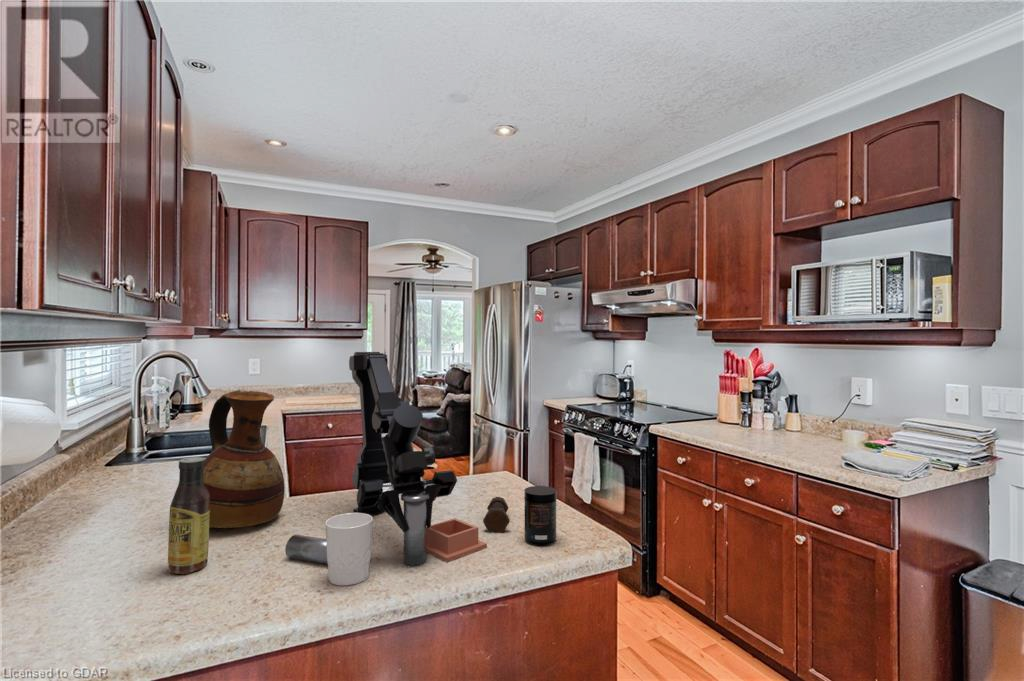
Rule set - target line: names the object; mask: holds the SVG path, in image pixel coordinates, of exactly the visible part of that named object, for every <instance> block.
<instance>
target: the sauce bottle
mask: <svg viewBox="0 0 1024 681" xmlns="http://www.w3.org/2000/svg"><path fill="white" fill-rule="evenodd" d="M205 459H206V458H204V457H200V456H195V457H194V456H193V457H185V458H181V459H180V460H178V470H179V478H178V484H177V487H176V490H175V492H174V495H173V497H172V499H171V502H170V506H169V515H168V516H169V521H168V549H167V563H168V564H167V565H168V567H167V568H168V571H169V572H170V574H174V575H175V574H176V575H186V574H187V575H188V574H191V573H194V572H197V571H199V570H202V569H203V568H204V567H206V565H207V564H208V557H209V543H210V542H209V541H210V540H209V539H210V527H209V520H210V508H209V502H210V494H209V492H208V490H207V489H206V488H205V486H204V483H203V481H204V479H203V468H204V466H205Z"/></svg>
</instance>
